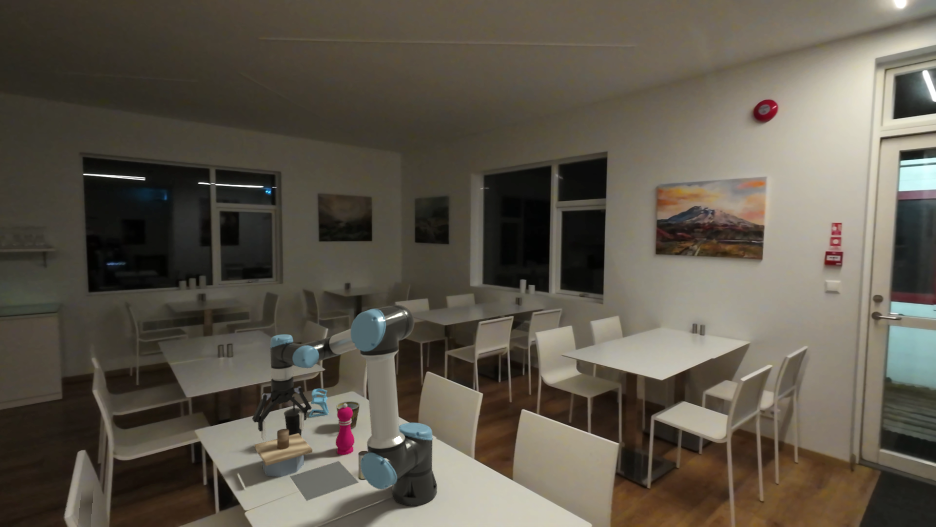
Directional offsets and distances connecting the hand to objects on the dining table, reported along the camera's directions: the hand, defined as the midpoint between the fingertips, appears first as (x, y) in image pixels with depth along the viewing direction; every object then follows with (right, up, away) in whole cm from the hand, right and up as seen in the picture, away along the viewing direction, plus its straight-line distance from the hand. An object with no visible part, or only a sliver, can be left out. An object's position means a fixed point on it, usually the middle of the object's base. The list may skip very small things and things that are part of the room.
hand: (283, 434), depth 165 cm
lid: (0, -6, 0) cm, 6 cm away
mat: (+17, -14, -7) cm, 23 cm away
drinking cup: (-4, -12, +20) cm, 23 cm away
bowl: (0, -13, +1) cm, 13 cm away
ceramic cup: (+15, -11, +35) cm, 40 cm away
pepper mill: (+19, -13, +13) cm, 27 cm away
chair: (-3, -10, +50) cm, 51 cm away
